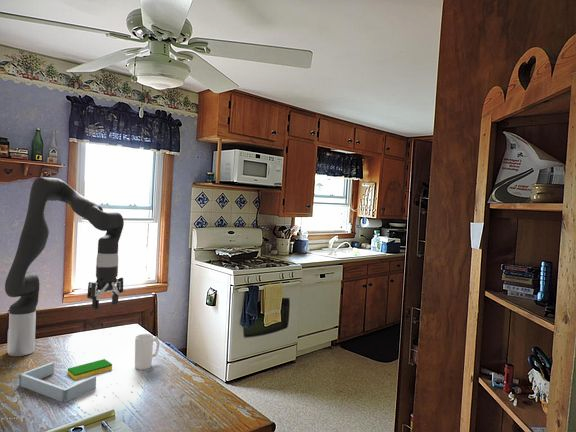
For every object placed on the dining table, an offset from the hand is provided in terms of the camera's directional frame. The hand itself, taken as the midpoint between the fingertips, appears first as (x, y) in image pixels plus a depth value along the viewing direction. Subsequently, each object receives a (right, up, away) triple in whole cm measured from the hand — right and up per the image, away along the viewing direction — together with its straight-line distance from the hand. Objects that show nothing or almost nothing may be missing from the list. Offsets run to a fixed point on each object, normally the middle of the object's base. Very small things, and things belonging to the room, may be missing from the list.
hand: (105, 306), depth 151 cm
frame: (-11, -25, -12) cm, 30 cm away
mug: (+13, -26, +9) cm, 30 cm away
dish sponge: (-6, -26, +1) cm, 26 cm away
